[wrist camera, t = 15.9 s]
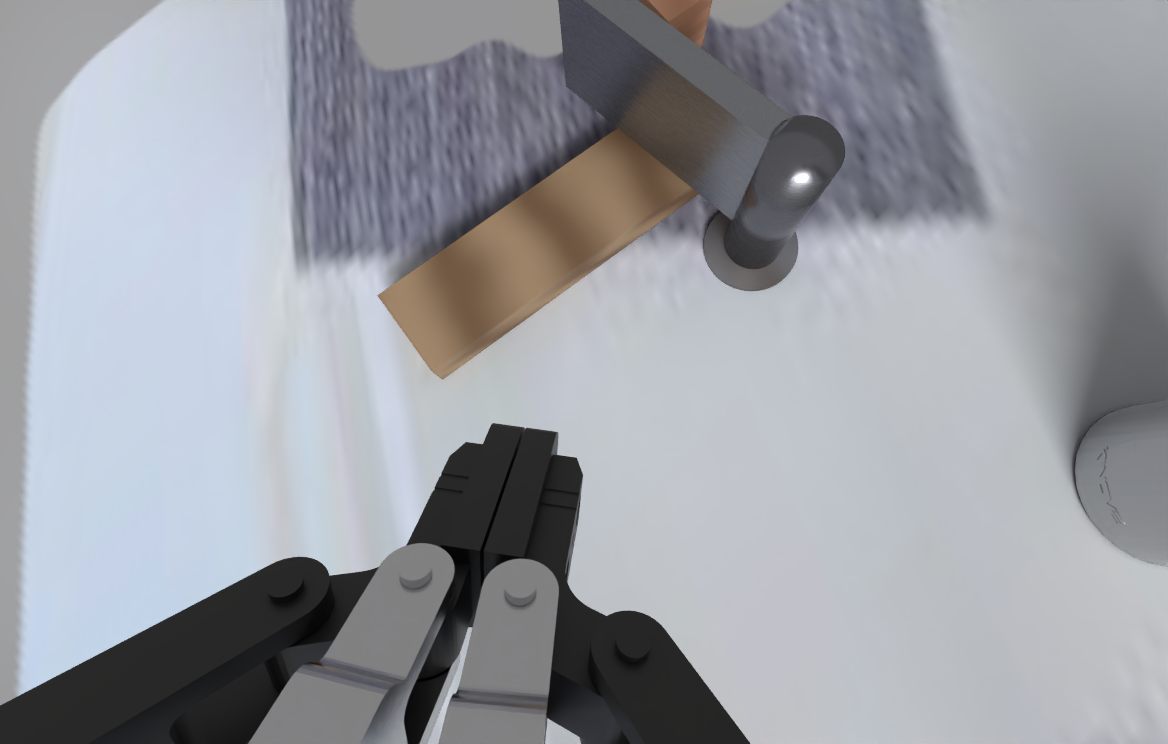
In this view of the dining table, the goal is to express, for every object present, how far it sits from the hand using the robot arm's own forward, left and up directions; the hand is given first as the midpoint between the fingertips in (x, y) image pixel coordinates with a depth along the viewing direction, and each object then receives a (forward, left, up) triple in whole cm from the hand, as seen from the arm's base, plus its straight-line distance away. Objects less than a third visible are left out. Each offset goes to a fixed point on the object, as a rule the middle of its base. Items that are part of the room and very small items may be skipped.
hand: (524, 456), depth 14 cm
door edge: (-2, -15, -22) cm, 27 cm away
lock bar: (-7, -20, -22) cm, 30 cm away
